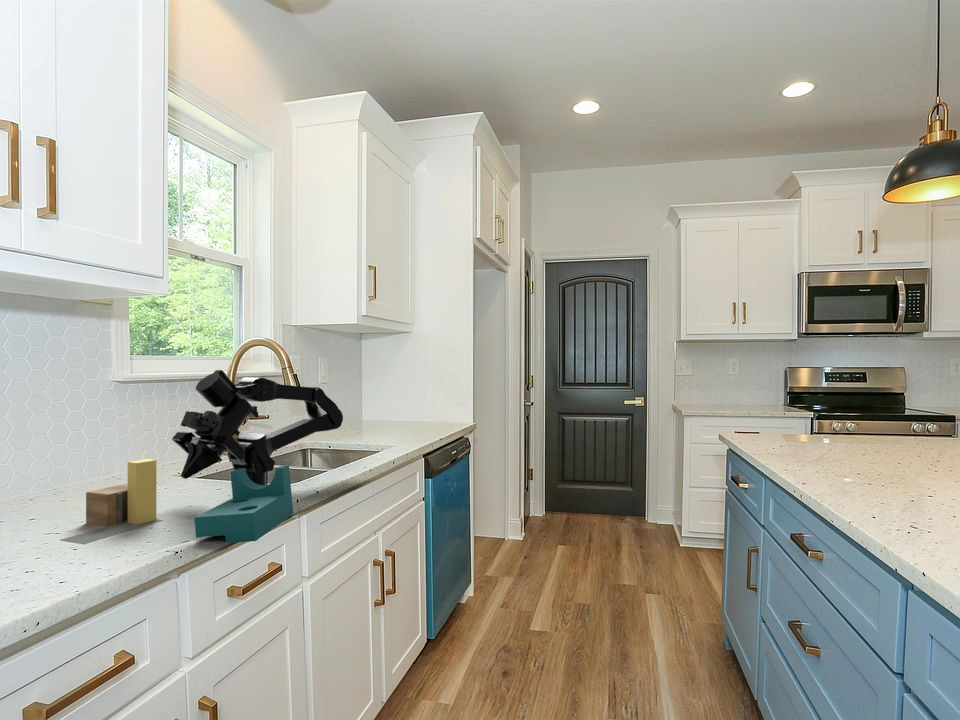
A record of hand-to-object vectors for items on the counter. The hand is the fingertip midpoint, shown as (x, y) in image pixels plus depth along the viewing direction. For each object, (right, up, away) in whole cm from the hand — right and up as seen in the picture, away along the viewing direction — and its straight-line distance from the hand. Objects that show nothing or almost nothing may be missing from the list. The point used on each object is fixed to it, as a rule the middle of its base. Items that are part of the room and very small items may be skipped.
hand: (183, 477), depth 122 cm
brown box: (-10, -8, -5) cm, 14 cm away
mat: (-6, -7, -13) cm, 16 cm away
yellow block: (-4, -7, -8) cm, 11 cm away
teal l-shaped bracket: (+18, -8, -11) cm, 23 cm away
